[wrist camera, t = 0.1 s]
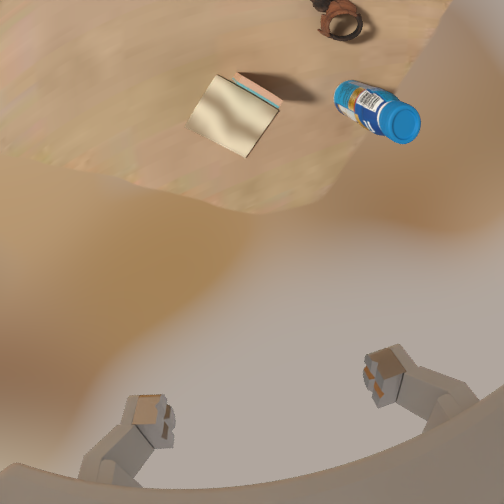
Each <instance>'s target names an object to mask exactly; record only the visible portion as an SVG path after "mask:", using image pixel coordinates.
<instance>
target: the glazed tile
mask: <svg viewBox="0 0 504 504" xmlns="http://www.w3.org/2000/svg"><path fill="white" fill-rule="evenodd" d="M232 79H233V80H234V81H235V82H236V84H238V85H240V86H241V87H243V88H245V89H247V90H249V91H250V92H252V93H254V94H255V95H257V96H259V97H260V98H262V99H264V100H265V101H267V102H269V103H270V104H272V105H273V106H275V107H277V108H279V106H280V105H281V104H282V102H283V100H282V99H280V98H279V97H277V96H276V95H274V94H273V93H271V92H270V91H268V90H266V89H265V88H263V87H261V86H260V85H258V84H256V83H255V82H253V81H251V80H250V79H248V78H246V77H244V76H243V75H241V74H239V73H237V72H236V74H235V75H234V77H233V78H232Z"/></svg>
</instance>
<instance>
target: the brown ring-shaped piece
mask: <svg viewBox="0 0 504 504" xmlns="http://www.w3.org/2000/svg"><path fill="white" fill-rule="evenodd" d="M310 1H312V2H313V7H315V9H317V11H319V12H325V11H326V14H322V16H321V29H322V30H320V29H318V31H319V32H320V33H321V34H323V35H324V36H327V37H328V38H333V39H334V40H338V41H348V40H351V39H353V38H355V37H357V36H358V35H359V34H360V32H361V30H362V27H363V21H362V17H361V14H356V10H357V8H356V7H355V5H354V4H353V3H351V2H350V1H349V0H332V1H330V0H310ZM340 14H349V15H352V16H354V17H355V18H356V19H357V22H358V26H357V28H356V30H355V31H354V32H353V33H351V34H349V35H346V36H336V35H333V34H331V33H330V29H329V24H330V22H331V20H332V19H333V18H334V17H335V16H337V15H340Z"/></svg>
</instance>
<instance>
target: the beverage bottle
mask: <svg viewBox="0 0 504 504" xmlns="http://www.w3.org/2000/svg"><path fill="white" fill-rule="evenodd" d="M334 103H335V106H336V108H337V109H338V111H339V112H340V113H342V114H343V115H345V116H347V117H349V118H351V119H352V120H354V121H355V122H357V123H359V124H360V125H361V126H362V127H363V128H365V129H367V130H369V131H371V132H373V133H375V134H377V135H383V136H386V137H388V138H389V139H391V140H392V141H394V142H396V143H399V144H407V143H409V142H411V141H413V140H414V139H415V138H416V136H417V135H418V133H419V130H420V126H421V120H420V116H419V114H418V112H417V110H416V109H415V108H414V107H412V106H410V105H409V104H406V103H404V102H401V101H400V100H399V99H398V98H397V97H396V96H395V95H394V94H392V93H390V92H387V91H385V90H383V89H381V88H378V87H373V86H369V85H366V84H363V83H360V82H358V81H354V80H348V81H345V82H343V83H341V84H340V85H339V86H338V87H337V88H336V90H335V93H334Z"/></svg>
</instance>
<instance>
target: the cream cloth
mask: <svg viewBox="0 0 504 504" xmlns="http://www.w3.org/2000/svg"><path fill="white" fill-rule="evenodd" d="M277 112H278V110H277V109H275V108H274V107H272V106H271V105H269V104H267V103H266V102H264V101H262V100H261V99H259V98H257V97H256V96H254V95H252V94H251V93H249V92H247V91H245V90H244V89H242V88H240V87H238V86H237V85H235V84H233V83H231V82H229V81H227V80H226V79H224V78H222V77H220V76H218V75H216V76H215V77H214V79H213V80H212V82H211V83H210V85H209V87H208V88H207V90H206V91H205V93H204V95H203V96H202V98H201V99H200V101H199V103H198V104H197V106H196V108H195V109H194V111H193V113H192V114H191V116H190V118H189V120H188V121H187V123H186V125H185V128H187V129H189V130H191V131H193V132H195V133H197V134H199V135H201V136H203V137H205V138H207V139H209V140H211V141H213V142H215V143H217V144H219V145H221V146H223V147H225V148H227V149H229V150H231V151H233V152H235V153H237V154H239V155H240V156H242V157H244V158H246V156H247V155H248V153H249V152H250V150H251V149H252V148H253V146H254V145H255V143H256V142H257V140H258V139H259V137H260V136H261V135H262V133H263V132H264V130H265V129H266V127H267V126H268V125H269V123H270V122H271V120H272V119H273V117H274V116H275V115H276V113H277Z"/></svg>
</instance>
